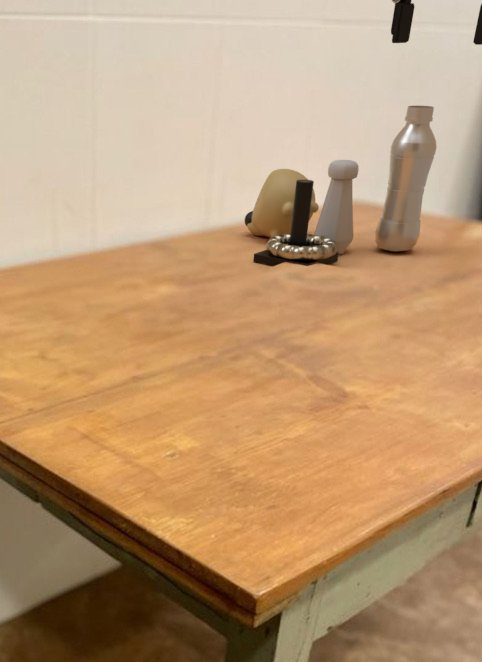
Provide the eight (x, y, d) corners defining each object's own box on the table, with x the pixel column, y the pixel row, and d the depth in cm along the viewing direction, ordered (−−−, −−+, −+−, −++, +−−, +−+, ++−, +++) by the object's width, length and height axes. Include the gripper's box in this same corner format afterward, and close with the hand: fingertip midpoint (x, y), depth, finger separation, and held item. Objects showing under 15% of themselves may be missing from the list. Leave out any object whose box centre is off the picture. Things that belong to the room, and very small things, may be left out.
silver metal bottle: (365, 251, 126) (389, 107, 115) (383, 243, 130) (408, 103, 120) (405, 258, 122) (433, 109, 112) (423, 249, 127) (452, 106, 116)
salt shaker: (304, 251, 126) (316, 160, 119) (326, 245, 129) (338, 156, 122) (336, 258, 122) (350, 164, 116) (358, 251, 126) (372, 160, 119)
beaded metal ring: (347, 253, 120) (349, 239, 119) (312, 266, 114) (314, 251, 113) (289, 242, 126) (291, 229, 125) (252, 254, 120) (254, 240, 119)
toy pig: (296, 256, 137) (274, 204, 140) (337, 209, 127) (312, 153, 129) (248, 261, 133) (226, 207, 136) (285, 213, 123) (261, 155, 125)
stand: (337, 260, 121) (349, 180, 115) (306, 272, 115) (317, 189, 110) (285, 250, 126) (294, 173, 120) (253, 262, 121) (260, 181, 115)
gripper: (573, -151, 83) (527, 44, 92) (411, -133, 93) (384, 41, 102) (549, -161, 78) (503, 45, 87) (381, -141, 88) (355, 43, 97)
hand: (439, 43), depth 94 cm, fingers open, 9 cm apart
